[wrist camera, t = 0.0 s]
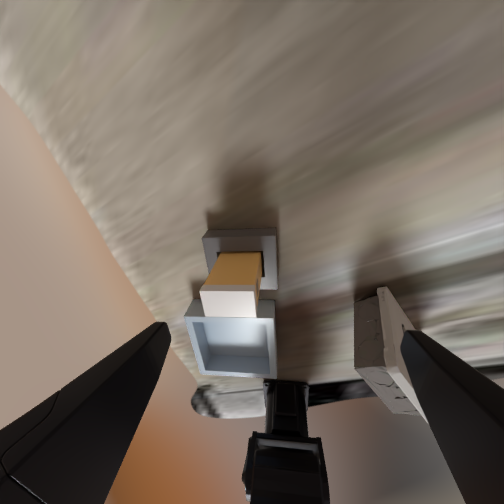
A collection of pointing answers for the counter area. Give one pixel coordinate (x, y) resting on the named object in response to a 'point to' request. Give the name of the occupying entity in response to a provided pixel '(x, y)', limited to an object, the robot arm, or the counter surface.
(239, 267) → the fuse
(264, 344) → the parts tray
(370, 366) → the electrical switch
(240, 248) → the block
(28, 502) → the robot arm
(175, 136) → the counter surface
